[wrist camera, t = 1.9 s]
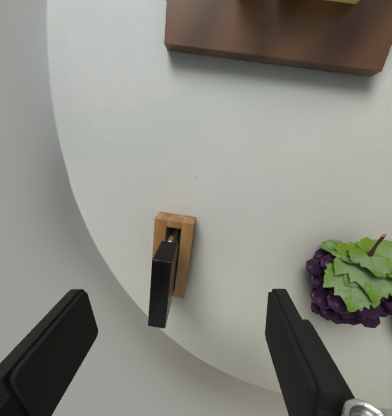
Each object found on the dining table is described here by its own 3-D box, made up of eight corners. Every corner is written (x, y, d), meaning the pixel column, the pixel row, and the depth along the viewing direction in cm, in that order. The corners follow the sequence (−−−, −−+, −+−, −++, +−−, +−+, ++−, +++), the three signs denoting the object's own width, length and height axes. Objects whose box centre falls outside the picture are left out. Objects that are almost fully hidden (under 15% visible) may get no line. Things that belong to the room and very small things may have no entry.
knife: (165, 274, 30) (147, 326, 22) (169, 223, 27) (152, 259, 19) (177, 276, 30) (165, 328, 22) (183, 225, 27) (171, 262, 19)
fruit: (288, 280, 33) (313, 208, 24) (359, 290, 30) (412, 215, 22) (303, 348, 24) (348, 273, 16) (402, 369, 22) (512, 294, 14)
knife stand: (154, 281, 31) (150, 292, 28) (159, 211, 27) (154, 218, 24) (186, 286, 31) (184, 297, 28) (195, 216, 27) (194, 224, 24)
